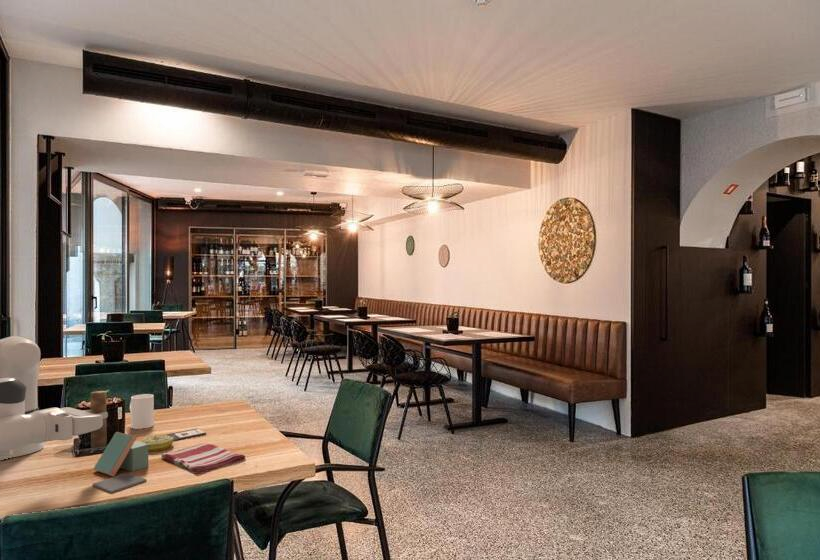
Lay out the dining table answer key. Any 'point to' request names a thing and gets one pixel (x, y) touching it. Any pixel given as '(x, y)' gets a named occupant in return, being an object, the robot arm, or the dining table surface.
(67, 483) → the dining table surface
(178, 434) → the chocolate bar
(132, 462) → the sage green block
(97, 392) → the dowel
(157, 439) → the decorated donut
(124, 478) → the coaster
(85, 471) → the dining table surface
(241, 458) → the dish towel
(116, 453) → the tile
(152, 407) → the mug
